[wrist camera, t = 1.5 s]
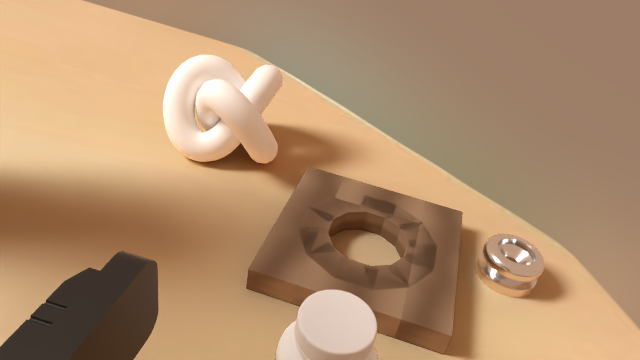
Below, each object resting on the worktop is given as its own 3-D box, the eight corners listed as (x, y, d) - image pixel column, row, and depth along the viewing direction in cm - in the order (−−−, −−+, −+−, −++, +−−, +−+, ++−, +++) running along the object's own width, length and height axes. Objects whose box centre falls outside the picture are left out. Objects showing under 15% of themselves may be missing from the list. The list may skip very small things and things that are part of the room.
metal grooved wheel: (477, 290, 43) (538, 304, 43) (490, 264, 41) (553, 278, 41) (472, 250, 47) (527, 262, 47) (483, 225, 45) (540, 238, 45)
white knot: (309, 169, 53) (323, 90, 48) (200, 198, 47) (203, 109, 42) (254, 117, 60) (262, 43, 55) (153, 136, 54) (151, 53, 49)
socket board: (246, 288, 39) (248, 269, 38) (305, 183, 51) (308, 166, 50) (443, 354, 37) (452, 336, 36) (455, 228, 49) (462, 211, 48)
